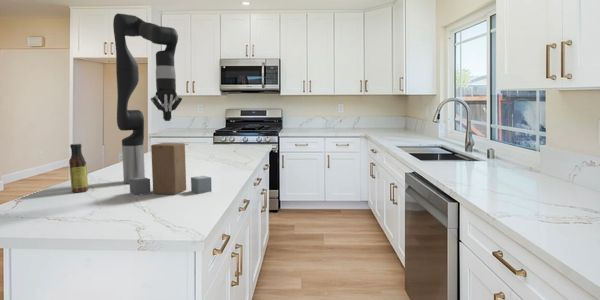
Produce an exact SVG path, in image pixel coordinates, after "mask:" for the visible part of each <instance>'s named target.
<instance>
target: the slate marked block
mask: <svg viewBox="0 0 600 300" xmlns="http://www.w3.org/2000/svg"><path fill="white" fill-rule="evenodd" d="M190 188H191V189H190V191H191V192H192V193H196V194H204V193H210V192H211V193H212V177H211V176H206V175H198V176H192V177H190Z"/></svg>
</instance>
